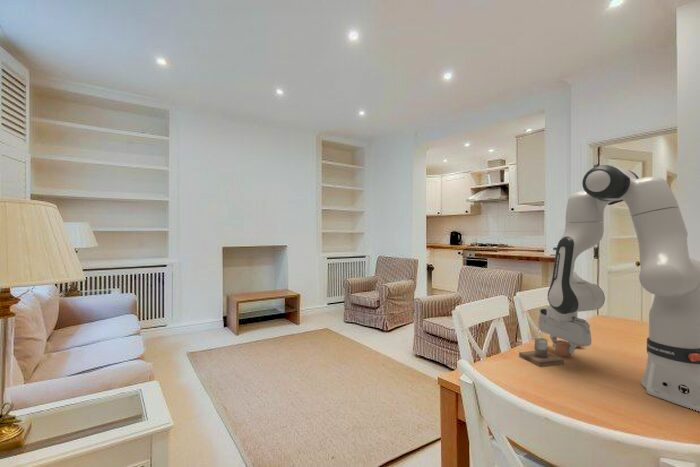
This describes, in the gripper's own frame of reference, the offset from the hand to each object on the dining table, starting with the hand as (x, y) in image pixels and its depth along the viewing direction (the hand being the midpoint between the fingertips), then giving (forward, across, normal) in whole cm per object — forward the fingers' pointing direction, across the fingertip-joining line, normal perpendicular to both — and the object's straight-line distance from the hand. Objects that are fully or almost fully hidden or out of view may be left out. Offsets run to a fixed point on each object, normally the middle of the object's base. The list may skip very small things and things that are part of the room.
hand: (563, 350), depth 127 cm
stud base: (+2, -2, +12) cm, 12 cm away
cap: (+2, 0, 0) cm, 2 cm away
